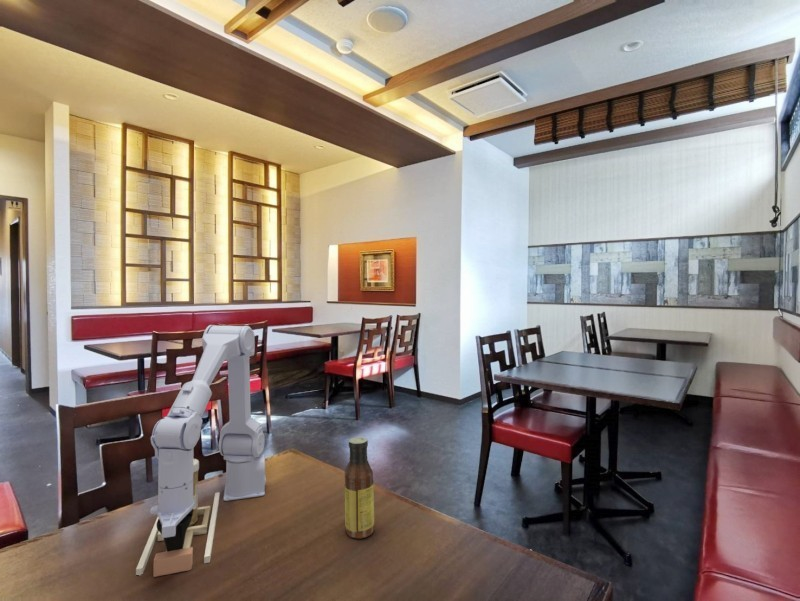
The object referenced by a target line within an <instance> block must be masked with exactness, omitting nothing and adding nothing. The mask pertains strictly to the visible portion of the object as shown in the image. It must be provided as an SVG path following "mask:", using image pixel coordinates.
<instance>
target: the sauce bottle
mask: <svg viewBox="0 0 800 601" xmlns="http://www.w3.org/2000/svg"><path fill="white" fill-rule="evenodd" d="M368 441H369V440H368V438H366V437H363V436H356V437H355V436H354V437H352V438H350V439H349V440H348V448H349V458H348V459H349V462H348V463H347V465H346V467H345V469H344V484H343V486H344V520H345V521H344V523H345V524H344V525H345V531H346V534H347V535H348V536H349V537H350V538H353V539H364V538H368V537H369V536H371V535H373V533H374V531H375V530H374V529H375V491H374V490H375V486H374V474H373V473H374V472H373V470H372V468H371V466H370V463H369V460H368V459H369V458H368V446H369V442H368Z"/></svg>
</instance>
